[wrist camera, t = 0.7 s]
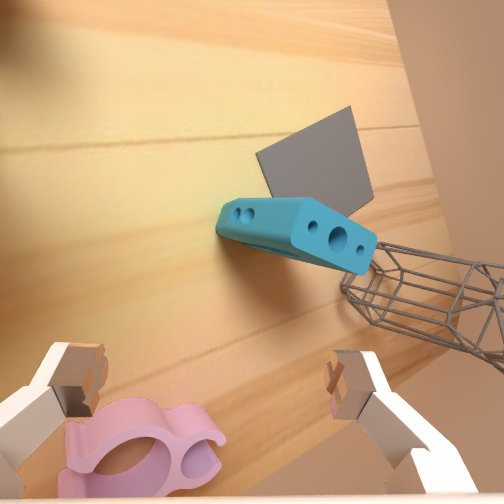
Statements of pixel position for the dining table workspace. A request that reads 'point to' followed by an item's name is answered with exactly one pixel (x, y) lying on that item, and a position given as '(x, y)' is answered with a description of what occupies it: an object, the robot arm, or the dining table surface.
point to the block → (299, 232)
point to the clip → (156, 461)
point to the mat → (320, 165)
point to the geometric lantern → (451, 344)
